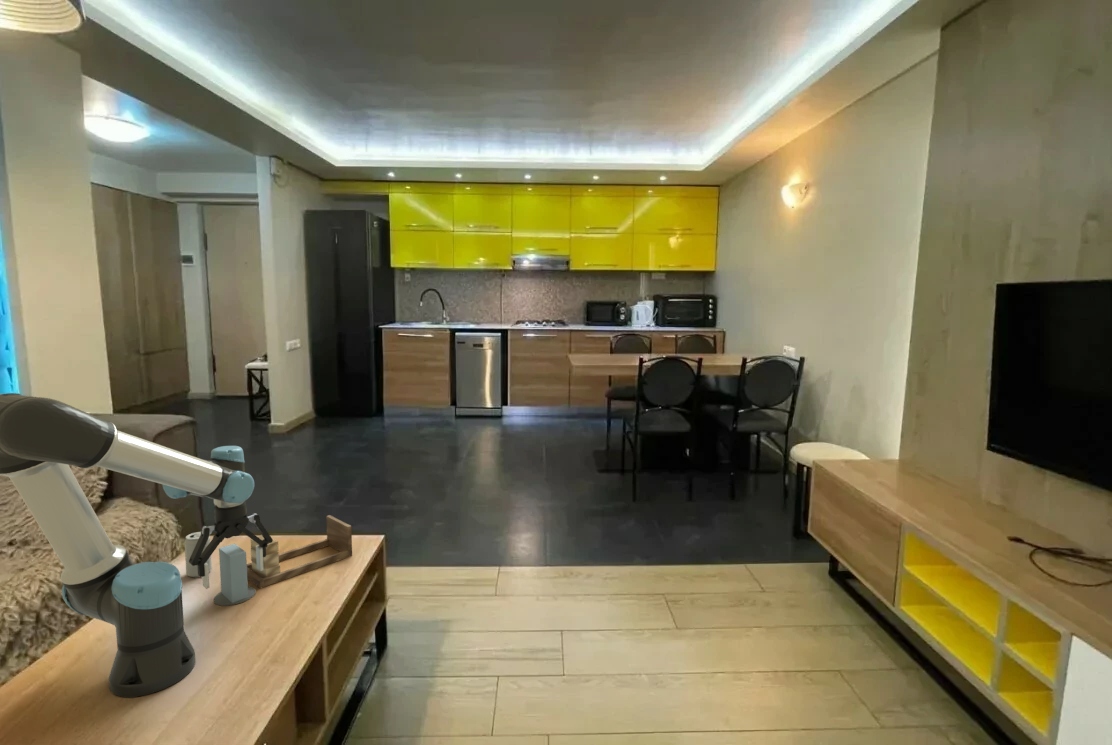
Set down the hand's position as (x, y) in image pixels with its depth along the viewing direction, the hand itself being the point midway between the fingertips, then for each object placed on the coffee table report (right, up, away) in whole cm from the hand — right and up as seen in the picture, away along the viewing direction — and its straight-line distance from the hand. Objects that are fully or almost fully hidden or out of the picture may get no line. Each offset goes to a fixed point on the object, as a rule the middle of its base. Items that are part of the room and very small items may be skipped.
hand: (234, 577), depth 151 cm
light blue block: (0, -5, +1) cm, 5 cm away
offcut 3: (+2, -4, +13) cm, 14 cm away
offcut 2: (+2, 0, +13) cm, 13 cm away
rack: (+8, -3, +20) cm, 22 cm away
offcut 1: (+2, +4, +12) cm, 13 cm away
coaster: (0, -5, +1) cm, 5 cm away
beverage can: (-18, -4, +13) cm, 23 cm away
